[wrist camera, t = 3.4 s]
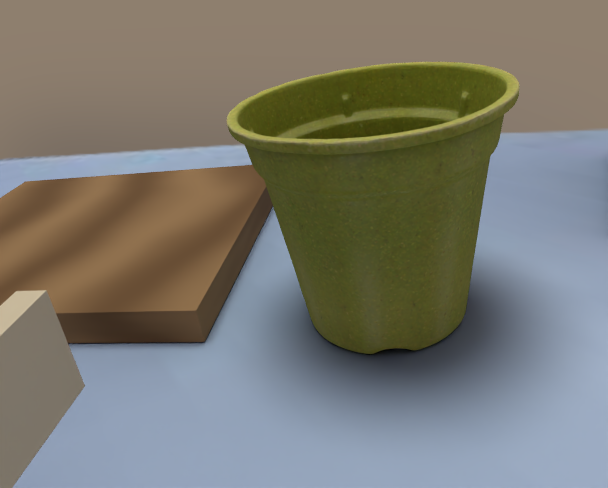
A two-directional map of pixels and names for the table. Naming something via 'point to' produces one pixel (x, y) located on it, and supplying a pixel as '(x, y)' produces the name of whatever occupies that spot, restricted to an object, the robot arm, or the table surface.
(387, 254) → the plant pot
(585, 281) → the table surface
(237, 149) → the table surface
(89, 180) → the walnut board
